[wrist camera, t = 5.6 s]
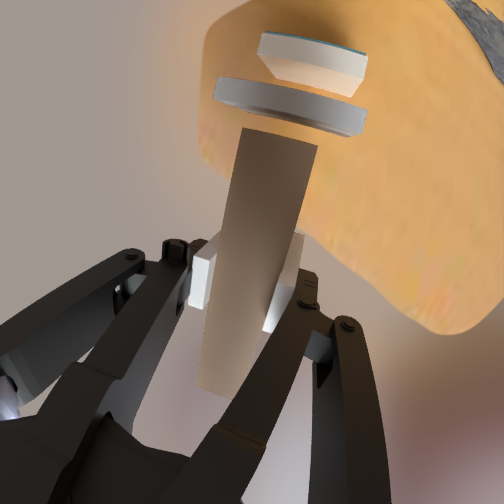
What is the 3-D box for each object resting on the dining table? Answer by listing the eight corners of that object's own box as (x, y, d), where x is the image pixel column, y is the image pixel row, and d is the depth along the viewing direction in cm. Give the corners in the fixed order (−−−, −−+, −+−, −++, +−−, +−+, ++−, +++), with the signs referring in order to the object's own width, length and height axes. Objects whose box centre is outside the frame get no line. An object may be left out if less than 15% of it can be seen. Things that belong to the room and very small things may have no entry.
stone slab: (546, 92, 12) (517, 111, 15) (538, 93, 14) (509, 112, 17) (472, -21, 9) (432, -16, 12) (468, -16, 10) (428, -10, 14)
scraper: (349, 122, 14) (367, 110, 8) (274, 351, 22) (258, 408, 16) (252, 97, 15) (218, 76, 9) (206, 328, 22) (176, 378, 17)
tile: (355, 78, 22) (368, 53, 14) (350, 97, 23) (363, 79, 15) (280, 60, 23) (263, 29, 15) (275, 78, 24) (256, 54, 16)
